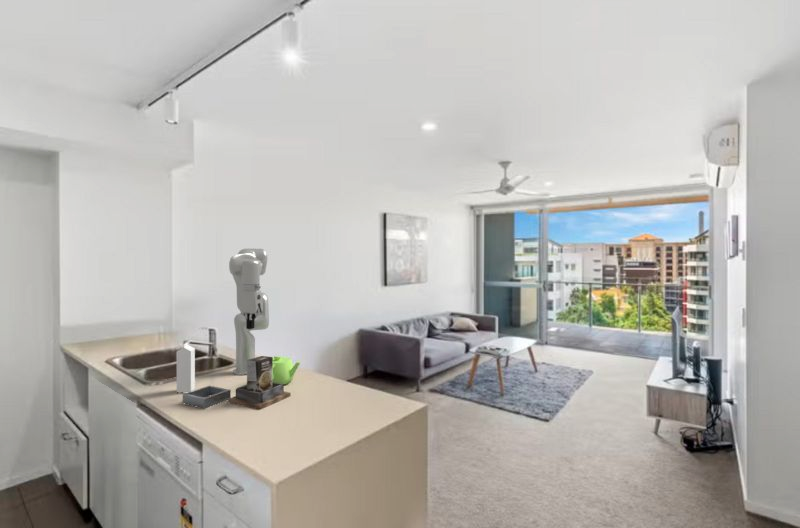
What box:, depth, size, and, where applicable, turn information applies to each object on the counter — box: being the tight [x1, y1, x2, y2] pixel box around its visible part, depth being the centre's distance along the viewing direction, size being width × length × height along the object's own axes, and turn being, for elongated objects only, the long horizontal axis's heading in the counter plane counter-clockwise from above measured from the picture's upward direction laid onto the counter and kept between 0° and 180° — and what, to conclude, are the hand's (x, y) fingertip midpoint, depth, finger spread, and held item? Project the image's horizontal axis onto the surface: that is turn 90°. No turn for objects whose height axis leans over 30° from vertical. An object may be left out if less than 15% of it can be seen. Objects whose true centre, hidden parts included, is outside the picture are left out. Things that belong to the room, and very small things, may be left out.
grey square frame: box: [182, 385, 232, 410], centre depth 171 cm, size 13×13×4 cm
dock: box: [227, 382, 292, 410], centre depth 174 cm, size 18×18×6 cm
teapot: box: [272, 355, 301, 385], centre depth 197 cm, size 18×20×13 cm
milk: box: [176, 341, 196, 393], centre depth 184 cm, size 6×6×22 cm
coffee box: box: [246, 355, 274, 393], centre depth 174 cm, size 9×6×16 cm
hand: (250, 328), depth 182 cm, fingers closed
